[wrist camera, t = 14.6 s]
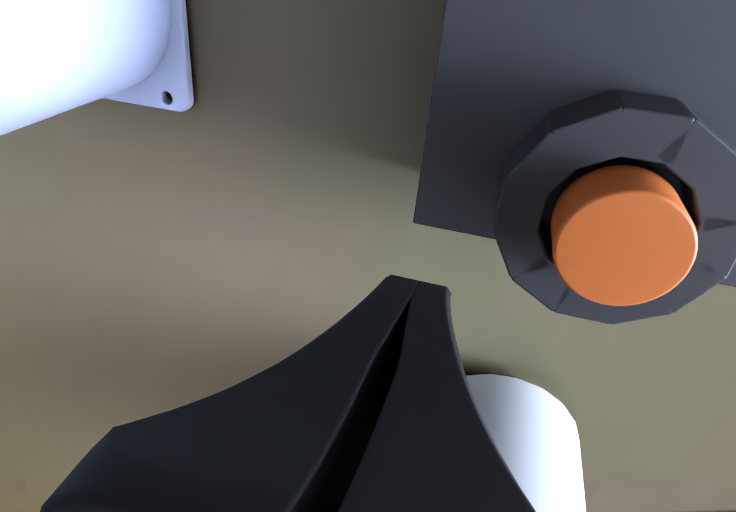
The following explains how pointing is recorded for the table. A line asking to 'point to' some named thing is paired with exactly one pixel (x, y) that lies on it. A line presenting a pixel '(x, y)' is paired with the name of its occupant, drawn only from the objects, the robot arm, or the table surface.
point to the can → (533, 440)
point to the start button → (622, 236)
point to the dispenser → (582, 127)
